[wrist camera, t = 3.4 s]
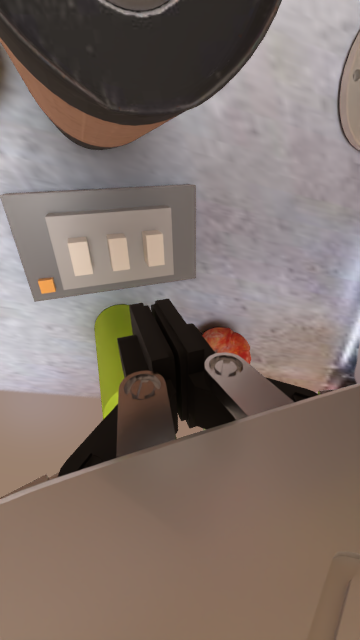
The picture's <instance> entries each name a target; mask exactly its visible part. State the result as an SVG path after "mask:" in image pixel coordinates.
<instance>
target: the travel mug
mask: <svg viewBox="0 0 360 640" xmlns="http://www.w3.org/2000/svg"><path fill="white" fill-rule="evenodd" d="M281 1H282V0H0V42H1V43H2V45H3V47H4V48H5V50H6V52H7V54H8V55H9V57H10V59H11V60H12V62H13V64H14V65H15V67H16V69H17V71H18V72H19V74H20V76H21V77H22V79H23V81H24V82H25V84H26V86H27V87H28V89H29V91H30V93H31V94H32V96H33V97H34V99H35V100H36V102H37V103H38V105H39V106H40V108H41V109H42V110H43V111H44V113H45V114H46V115H47V116H48V117H49V119H50V120H51V121H52V122H53V123H54V124H55V126H56V127H57V128H58V129H59V130H60V131H61V132H62V133H63V134H64V135H65V136H66V137H68V138H69V139H70V140H72V141H73V142H75V143H76V144H78V145H80V146H83V147H85V148H89V149H94V150H103V149H109V148H114V147H118V146H122V145H125V144H128V143H130V142H132V141H134V140H136V139H138V138H139V137H141V136H143V135H145V134H146V133H148V132H150V131H152V130H153V129H155V128H157V127H159V126H160V125H162V124H164V123H165V122H167V121H169V120H171V119H172V118H174V117H176V116H178V115H179V114H181V113H183V112H185V111H186V110H189V109H192V108H194V107H197V106H199V105H200V104H202V103H203V102H205V101H207V100H208V99H209V98H211V97H212V96H213V95H215V94H216V93H217V92H218V91H220V90H221V89H222V88H223V87H224V86H225V85H226V84H227V83H228V82H229V81H230V80H231V79H232V78H233V77H234V76H235V75H236V74H237V73H238V72H239V71H240V70H241V68H242V67H243V66H244V65H245V64H246V62H247V61H248V60H249V59H250V58H251V56H252V55H253V53H254V52H255V50H256V49H257V47H258V46H259V44H260V43H261V41H262V40H263V38H264V37H265V35H266V33H267V31H268V29H269V27H270V25H271V23H272V21H273V19H274V17H275V16H276V13H277V11H278V8H279V6H280V4H281Z"/></svg>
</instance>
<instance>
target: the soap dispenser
mask: <svg viewBox="0 0 360 640" xmlns="http://www.w3.org/2000/svg"><path fill="white" fill-rule="evenodd" d="M94 329H95V340H96V350H97V360H98V371H99V381H100V391H101V402H102V412H103V419H104V418H105V417H106V416H107V415H108V414H109V413H110V412H111V411H112V410H113V408H114V407H115V406H116V405H117V404H118V392H119V386H120V383H121V382H122V380H123V379H124V374H123V369H122V364H121V359H120V354H119V348H118V342H117V338H121V337H126V336H131V335H133V332H132V325H131V318H130V310H129V305H123V304H121V305H114V306H111V307H109V308H107V309H105V310H104V311H103V312H102V313H101V314H100V315H99V316H98V318H97V320H96V322H95V328H94Z"/></svg>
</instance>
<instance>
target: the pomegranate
mask: <svg viewBox="0 0 360 640" xmlns="http://www.w3.org/2000/svg"><path fill="white" fill-rule="evenodd" d="M202 336H203V337H204V338H205V340H206V341H207V342H208V344H209V345H210V346H211V348H212V349H213V350H214V352H215V353H224V352H227V353H233V354H235V355H238V356H240V357H241V358H243V359H244V360H245V361H246V362H248V363H249V364H250V361H251V356H250V352H249V350H250V346H249V344H248V342H247V341H246V340H245V339H244V337H242V336H241V335H240V334H238V333H236V332H233V331H232V330H231V329H230V328H224V327H218V328H212V329H210V330H207V331H206V332H204V334H203V335H202Z"/></svg>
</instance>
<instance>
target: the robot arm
mask: <svg viewBox="0 0 360 640" xmlns="http://www.w3.org/2000/svg"><path fill="white" fill-rule="evenodd" d="M340 117H341V123H342V127H343V130H344V133H345V135H346V137H347V138H348V140H349V142H350V143H351V144H352V145H353V146H354V147H355V148H356V149H358V150H360V32H359V34H358V36H357V38H356V40H355V42H354V44H353V46H352V48H351V51H350V53H349V56H348V59H347V62H346V65H345V69H344V73H343V77H342V82H341V90H340ZM129 310H130V318H131V325H132V332H133V335H131V336H126V337H121V338H117V342H118V348H119V354H120V359H121V364H122V369H123V374H124V379H123V380H122V382H121V383H120V386H119V392H118V404H117V405H116V406H115V407H114V408H113V410H112V411H111V412H110V413H109V414H108V415H107V416H106V417H105V418H104V419H103V421H102V422H101V423H100V424H99V425H98V426H97V427H96V428H95V430H94V431H93V432H92V433H91V434H90V435H89V436H88V437H87V438H86V440H85V441H84V442H83V443H82V444H81V445H80V446H79V447H78V448H77V449H76V451H75V452H74V453H73V454H72V455H71V456H70V457H69V458H68V459H67V461H66V462H65V463H64V465H63V466H62V468H61V469H60V472H59V473H57V474H55V475H53V476H51V477H49V478H48V476H47V475H44V476H42V477H40V478H38V479H36V480H34V481H32V482H30V483H28V484H26V485H24V486H22V487H20V488H18V489H17V490H14V491H13V492H11V493H9V494H7V495H5V496H3V497H1V498H0V640H360V383H358V384H355V385H351V386H348V387H345V388H341V389H337V390H324V391H318V394H317V393H315V392H313V391H311V390H308V389H305V388H301V387H298V386H294V385H291V384H287V383H283V382H280V381H276V380H273V379H269V378H265V377H264V376H263V375H262V374H261V373H259V372H258V371H257V370H256V369H255V368H254V367H252V366H251V365H250V364H249V363H248V362H246V361H245V360H244V359H243V358H241V357H240V356H238V355H235V354H233V353H227V352H224V353H215V352H214V350H213V349H212V348H211V346H210V345H209V344H208V342H207V341H206V340H205V338H204V337H203V336H202V335H201V333H200V332H199V331H198V329H197V328H196V327H195V325H194V324H186V322H185V321H184V320H183V318H182V317H181V315H180V314H179V313H178V311H177V310H176V308H175V307H174V306H173V304H172V303H171V301H170V300H169V299H163V300H157V301H155V304H153V305H151V310H150V308H149V307H148V305H147V306H144V305H143V303H139V304H133V305H129ZM177 412H178V414H177ZM178 415H179V417H180V419H181V421H184V420H186V422H187V424H188V426H189V428H193V427H195V426H199V427H201V428H203V431H200V432H197V433H194V434H191V435H188V436H185V437H181V438H178V439H176V433H177V431H178Z"/></svg>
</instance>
